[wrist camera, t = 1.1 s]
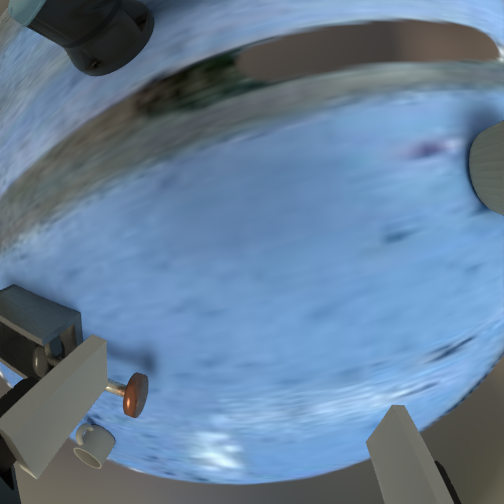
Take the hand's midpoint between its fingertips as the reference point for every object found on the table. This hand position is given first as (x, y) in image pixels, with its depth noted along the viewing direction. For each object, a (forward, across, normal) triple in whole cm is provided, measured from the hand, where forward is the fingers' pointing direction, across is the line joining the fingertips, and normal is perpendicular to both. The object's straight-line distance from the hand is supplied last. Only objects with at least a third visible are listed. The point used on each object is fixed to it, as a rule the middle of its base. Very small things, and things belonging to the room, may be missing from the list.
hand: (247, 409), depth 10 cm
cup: (+27, -26, -49) cm, 62 cm away
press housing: (+27, -37, -24) cm, 52 cm away
